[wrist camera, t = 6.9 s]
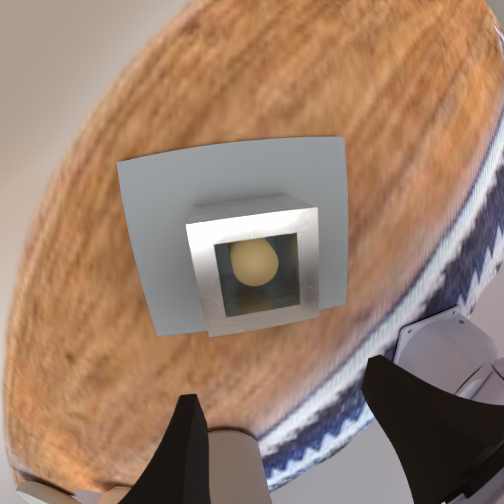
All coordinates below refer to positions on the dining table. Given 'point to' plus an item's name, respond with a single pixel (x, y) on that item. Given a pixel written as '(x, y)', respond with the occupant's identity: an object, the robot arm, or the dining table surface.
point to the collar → (286, 248)
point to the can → (236, 469)
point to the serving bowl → (43, 494)
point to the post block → (224, 189)
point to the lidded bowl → (114, 495)
